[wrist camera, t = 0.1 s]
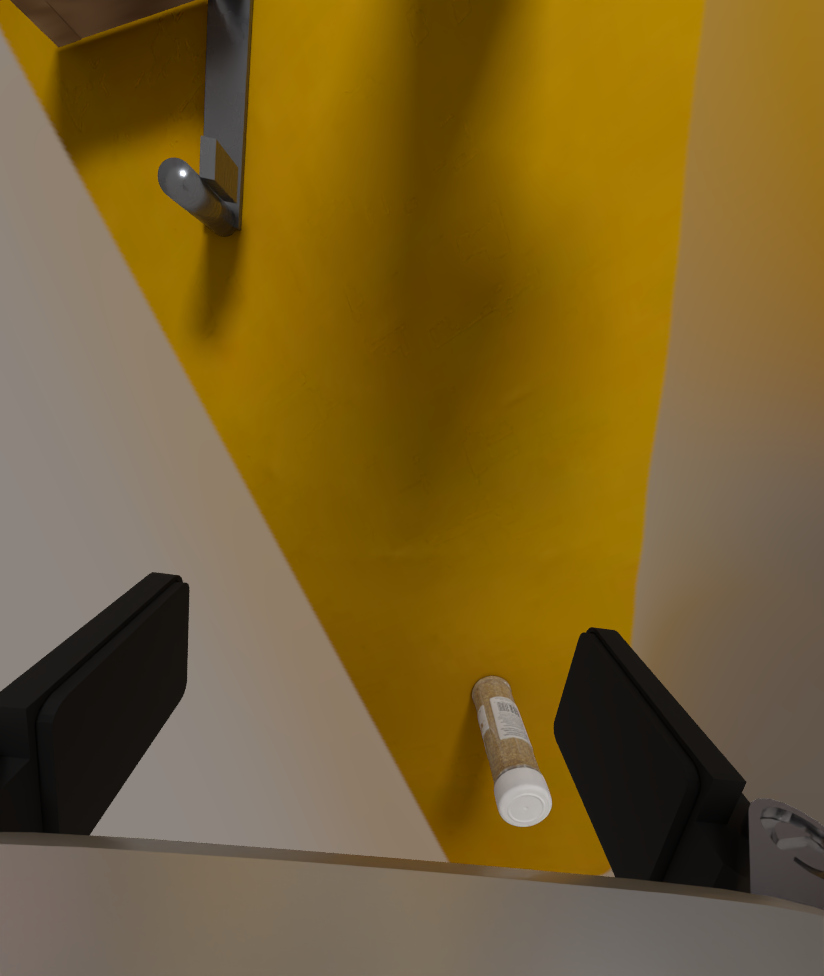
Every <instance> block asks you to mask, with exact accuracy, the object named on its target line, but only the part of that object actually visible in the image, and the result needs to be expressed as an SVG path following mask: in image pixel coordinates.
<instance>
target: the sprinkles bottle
mask: <svg viewBox="0 0 824 976" xmlns="http://www.w3.org/2000/svg"><path fill="white" fill-rule="evenodd" d="M472 699H473V702H474V703H475V707H476V710H477V715H478V721H479V725H480V729H481V733H482V737H483V741H484V745H485V749H486V753H487V756H488V759H489V763H490V767H491V772H492V776H493V780H494V794H495V799H496V803H497V807H498V810H499V813H500V815H501V817H502V818H503V819H504V820H505V821H506V822H508V823H509V824H511V825H514V826H519V827H527V826H532V825H535V824H537V823H539V822H541V821H542V820H543V819H545V818H546V816H547V815H548V814H549V812H550V810H551V806H552V800H551V796H550V793H549V790H548V787H547V784H546V781H545V779H544V777H543V776H542V774H541V772H540V771H539V768H538V765H537V762H536V759H535V756H534V754H533V749H532V746H531V744H530V741H529V738H528V735H527V732H526V730H525V727H524V724H523V722H522V719H521V716H520V714H519V711H518V708H517V706H516V705H515V702H514V699H513V697H512V694H511V688H510V685H509V684H508V682H507V681H505V680H504V679H503V678H500V677H496V676H488V677H485V678H482V679H480V680H479V681H478V682H477V683H476V684H475V686H474V688H473V690H472Z"/></svg>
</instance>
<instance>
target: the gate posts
mask: <svg viewBox="0 0 824 976" xmlns="http://www.w3.org/2000/svg"><path fill="white" fill-rule="evenodd" d="M252 15H253V0H208V18H207V50H206V81H205V112H204V136H201V146H200V176H199V175H198V174H197V173H196V172H195V171H194V170H193V169H192V168H191V167H190V166H189V165H188V164H187V163H186V162H185V161H183V160H181V159H179V158H169V159H166V160H165V161H164V162H163V163H162V164H161V165H160V167H159V170H158V181H159V184H160V187H161V189H162V190H163V191H164V193H165V194H166V195H168V196H169V197H170V198H171V199H173V200H174V201H175V202H176V203H178V204H179V205H180V206H182V207H183V208H184V209H185V210H187V211H188V212H189V213H190V214H192V215H193V216H194V217H196V218H197V219H198V220H199V221H201V222H202V223H203V224H204V225H206V226H207V227H208V228H210V229H211V230H212V231H213V232H215V233H216V234H217V235H219V236H224V237H226V236H230V235H232V234H233V233H234V232H235V230H241V220H242V202H243V183H244V164H245V146H246V127H247V108H248V90H249V71H250V53H251V34H252Z"/></svg>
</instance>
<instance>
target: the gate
mask: <svg viewBox="0 0 824 976" xmlns="http://www.w3.org/2000/svg"><path fill="white" fill-rule="evenodd" d="M11 1H12V2H13V3H14V4H15V5H16V6H17V7H18V8H19V9H20V10H21V11H22V12H23V13H24V14H25V15H26V16H27V17H28V18H29V19H30V20H31V21H32V22H33V23H34V24H35V25H36V26H37V27H38V28H39V29H40V30H41V31H42V32H44V33H45V34H46V35H47V36H48V37H49V38H50V39H51V40H52V41H53V42H54V43H55V44H56V45H57V46H58V47H61V46H64V45H67V44H70V43H73V42H76V41H78V40H81V39H82V38H85V37H88V36H91V35H94V34H96V33H99V32H102V31H105V30H108V29H111V28H114V27H117V26H120V25H123V24H126V23H129V22H132V21H135V20H138V19H141V18H144V17H147V16H150V15H153V14H156V13H159V12H162V11H165V10H168V9H171V8H174V7H177V6H180V5H182V4H185V3H188V2H191V1H194V0H11Z"/></svg>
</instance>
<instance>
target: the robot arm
mask: <svg viewBox="0 0 824 976" xmlns="http://www.w3.org/2000/svg"><path fill="white" fill-rule="evenodd" d="M188 621H189V585H188V584H187V583H183V581H182V578H181V577H180V576H179V575H171V574H163V573H154V572H152V573H151V574H149V575H148V576H146V577H145V578H144V579H143V580H141V581H140V582H139V583H137V584H136V585H135V586H134V587H132V588H131V589H130V590H129V591H127V592H126V593H125V594H124V595H122V596H121V597H120V598H118V599H117V600H116V601H115V602H113V603H112V604H111V605H110V606H108V607H107V608H106V609H104V610H103V611H102V612H101V613H99V614H98V615H97V616H96V617H94V618H93V619H92V620H91V621H89V622H88V623H87V624H86V625H84V626H83V627H82V628H80V629H79V630H78V631H77V632H75V633H74V634H73V635H72V636H70V637H69V638H68V639H67V640H65V641H64V642H63V643H61V644H60V645H59V646H58V647H56V648H55V649H54V650H53V651H51V652H50V653H49V654H47V655H46V656H45V657H44V658H42V659H41V660H40V661H39V662H37V663H36V664H35V665H34V666H32V667H31V668H30V669H29V670H27V671H26V672H25V673H24V674H22V675H21V676H20V677H18V678H17V679H16V680H15V681H13V682H12V683H11V684H9V685H8V686H7V687H6V688H4V689H3V690H2V691H1V692H0V976H824V826H823V825H821V824H820V823H819V822H818V821H816V820H814V819H813V818H811V817H810V816H808V815H806V814H805V813H803V812H802V811H800V810H798V809H795V808H794V807H791V806H789V805H787V804H785V803H783V802H779V801H775V800H772V799H756V800H754V801H752V802H751V803H750V802H749V801H748V800H747V799H746V797H745V796H744V795H743V794H742V791H743V789H744V787H745V784H746V781H745V780H744V779H743V777H742V776H741V775H740V774H739V773H738V772H737V770H736V769H735V768H734V767H733V766H732V765H731V764H730V762H729V761H728V760H727V759H726V758H725V757H724V756H723V754H722V753H721V752H720V751H719V750H718V748H717V747H716V746H715V745H714V744H713V743H712V741H711V740H710V739H709V738H708V737H707V736H706V734H705V733H704V732H703V731H702V730H701V729H700V728H699V727H698V725H697V724H696V723H695V722H694V720H693V719H692V718H691V717H690V716H689V715H688V713H687V712H686V711H685V710H684V709H683V708H682V706H681V705H680V704H679V703H678V702H677V701H676V700H675V698H674V697H673V696H672V695H671V694H670V693H669V691H668V690H667V689H666V688H665V687H664V686H663V684H662V683H661V682H660V681H659V680H658V679H657V677H656V676H655V675H654V674H653V673H652V672H651V670H650V669H649V668H648V667H647V666H646V665H645V663H644V662H643V661H642V660H641V659H640V658H639V657H638V655H637V654H636V653H635V652H634V651H633V649H632V648H631V647H630V646H629V645H628V644H627V642H626V641H625V640H624V639H623V638H622V637H621V635H620V634H619V633H618V632H617V631H615V630H609V629H601V628H593V627H591V628H589V629H588V630H587V632H586V633H582V634H581V635H580V637H579V640H578V643H577V646H576V650H575V653H574V657H573V660H572V663H571V667H570V670H569V673H568V677H567V680H566V684H565V687H564V690H563V694H562V697H561V701H560V704H559V707H558V711H557V714H556V718H555V721H554V735H555V739H556V741H557V744H558V746H559V748H560V751H561V753H562V755H563V758H564V760H565V762H566V764H567V767H568V769H569V771H570V774H571V776H572V778H573V781H574V783H575V785H576V788H577V790H578V792H579V794H580V797H581V799H582V801H583V804H584V806H585V808H586V811H587V813H588V815H589V818H590V820H591V822H592V824H593V827H594V829H595V831H596V834H597V836H598V838H599V841H600V843H601V845H602V848H603V850H604V852H605V854H606V857H607V859H608V861H609V864H610V866H611V868H612V871H613V873H614V875H615V877H605V876H594V875H582V874H571V873H560V872H549V871H538V870H527V869H516V868H504V867H493V866H482V865H470V864H458V863H446V862H434V861H421V860H410V859H398V858H386V857H374V856H361V855H349V854H336V853H325V852H311V851H300V850H286V849H274V848H260V847H247V846H234V845H220V844H208V843H195V842H181V841H167V840H155V839H140V838H124V837H105V836H89V835H90V834H91V832H92V831H93V829H94V828H95V826H96V825H97V823H98V822H99V820H100V819H101V817H102V816H103V814H104V813H105V811H106V810H107V808H108V807H109V805H110V804H111V802H112V801H113V799H114V798H115V796H116V795H117V794H118V792H119V791H120V789H121V788H122V786H123V785H124V783H125V781H126V780H127V779H128V777H129V776H130V774H131V773H132V771H133V770H134V768H135V767H136V765H137V764H138V762H139V761H140V760H141V758H142V757H143V755H144V754H145V752H146V751H147V749H148V748H149V746H150V745H151V743H152V742H153V740H154V739H155V737H156V736H157V734H158V733H159V731H160V730H161V728H162V727H163V725H164V724H165V723H166V721H167V719H168V718H169V717H170V715H171V714H172V712H173V710H174V709H175V708H176V706H177V705H178V703H179V702H180V700H181V698H182V697H183V694H184V692H185V689H186V683H187V658H188Z"/></svg>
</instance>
